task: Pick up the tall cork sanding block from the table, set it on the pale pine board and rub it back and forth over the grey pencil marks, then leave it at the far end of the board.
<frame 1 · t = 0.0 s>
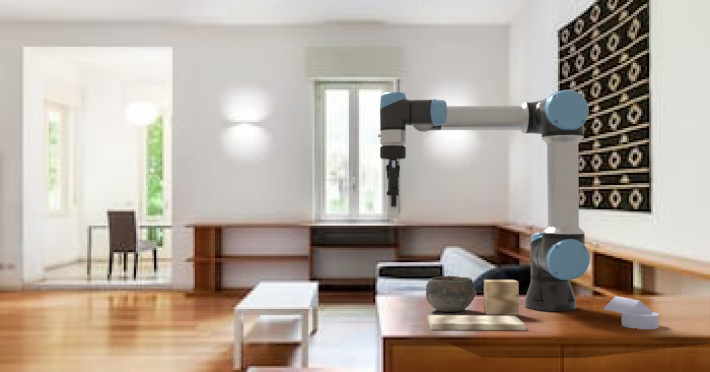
hand: (392, 218, 184), 28 cm above the sideboard, fingers open, 13 cm apart
bowl: (450, 312, 188), on the sideboard
board: (474, 325, 167), on the sideboard
sanding block: (501, 315, 181), on the sideboard
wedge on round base: (634, 325, 168), on the sideboard
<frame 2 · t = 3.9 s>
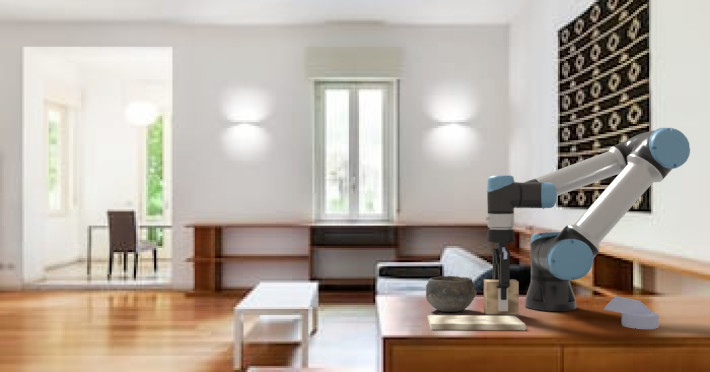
hand: (501, 309, 181), 2 cm above the sideboard, fingers closed on sanding block, 5 cm apart
sanding block: (501, 315, 181), on the sideboard, touching gripper
everything else where it was.
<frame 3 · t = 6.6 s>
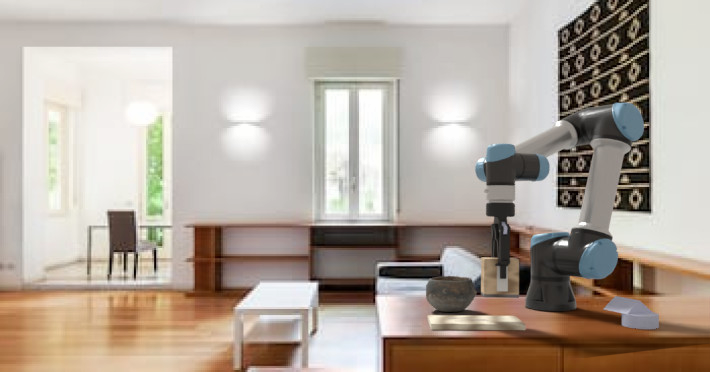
hand: (500, 289, 166), 10 cm above the sideboard, fingers closed on sanding block, 5 cm apart
sanding block: (499, 296, 166), point 8 cm above the sideboard, touching gripper
everything else where it was.
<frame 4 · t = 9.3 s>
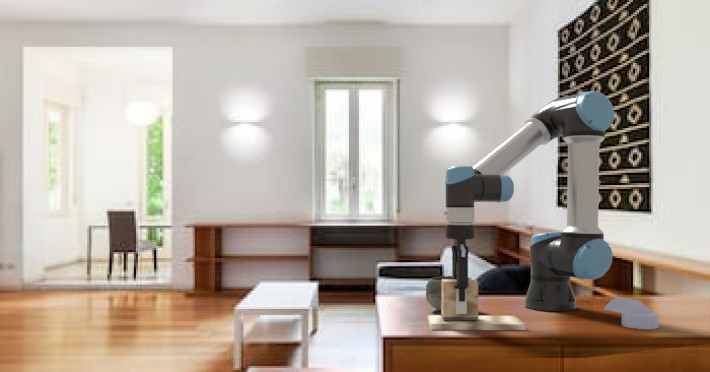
hand: (459, 311, 167), 4 cm above the sideboard, fingers closed on sanding block, 5 cm apart
sanding block: (459, 318, 167), point 2 cm above the sideboard, touching gripper
everything else where it was.
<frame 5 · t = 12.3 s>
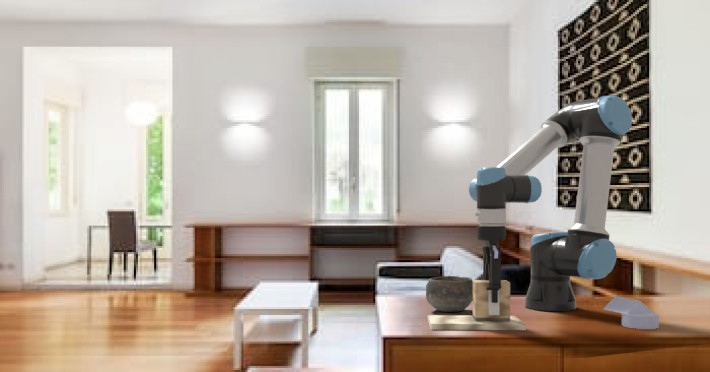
hand: (492, 312, 167), 3 cm above the sideboard, fingers closed on sanding block, 5 cm apart
sanding block: (491, 319, 167), point 2 cm above the sideboard, touching gripper
everything else where it was.
when the fingers open (3 cm above the sideboard, at t = 14.9 s): sanding block stays where it is, resting on board.
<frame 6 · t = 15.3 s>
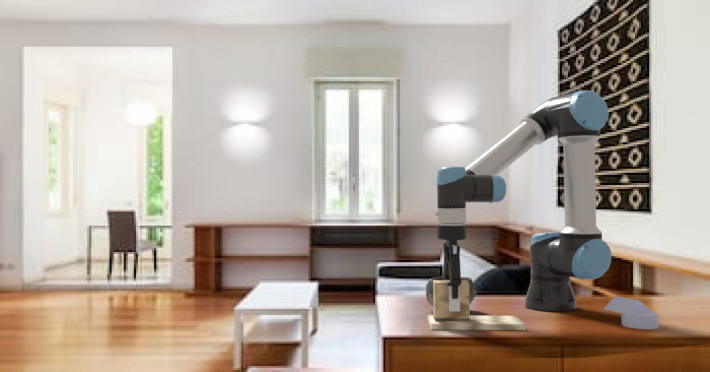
hand: (451, 307, 167), 5 cm above the sideboard, fingers open, 11 cm apart
sanding block: (451, 319, 167), point 2 cm above the sideboard, touching board
everything else where it was.
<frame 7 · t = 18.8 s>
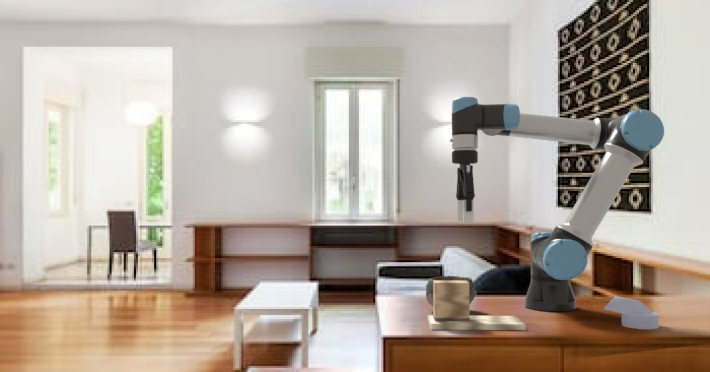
hand: (465, 222, 184), 27 cm above the sideboard, fingers open, 13 cm apart
nothing on the sideboard moved.
at the end: sanding block inside the target area on the board (0.0 cm from its centre), point 1.5 cm above the board's base; sanding block tilted 0°; the gripper is holding nothing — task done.
